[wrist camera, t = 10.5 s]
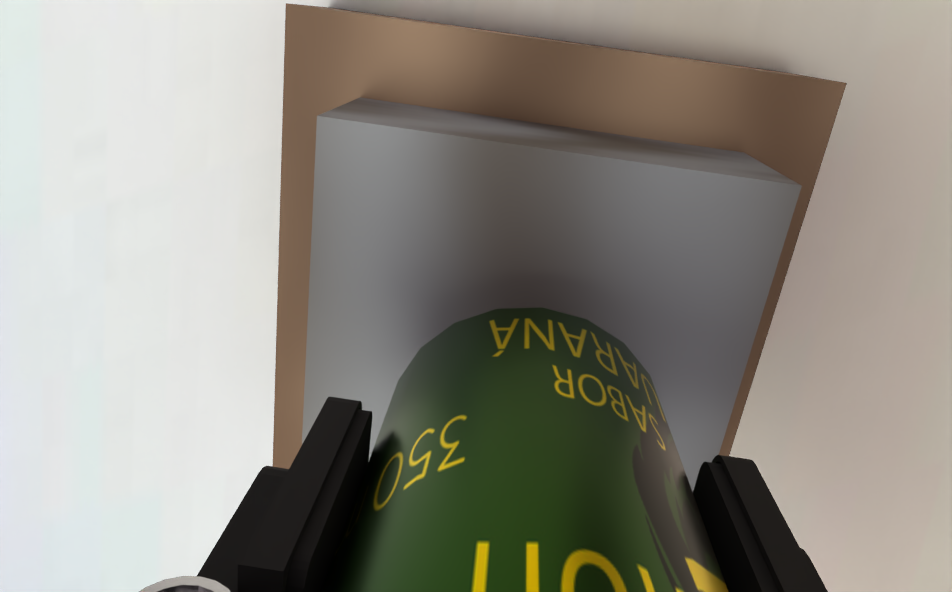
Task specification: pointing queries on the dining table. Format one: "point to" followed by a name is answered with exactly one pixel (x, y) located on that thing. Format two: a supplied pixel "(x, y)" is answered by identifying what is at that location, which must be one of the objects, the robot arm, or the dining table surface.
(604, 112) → the plinth
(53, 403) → the dining table surface
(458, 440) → the green soda can
